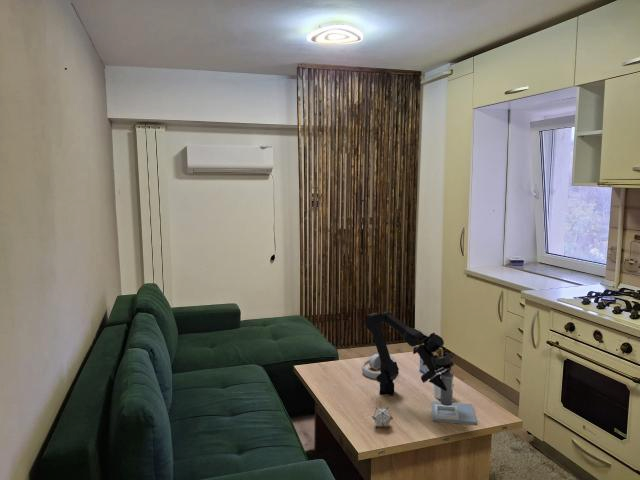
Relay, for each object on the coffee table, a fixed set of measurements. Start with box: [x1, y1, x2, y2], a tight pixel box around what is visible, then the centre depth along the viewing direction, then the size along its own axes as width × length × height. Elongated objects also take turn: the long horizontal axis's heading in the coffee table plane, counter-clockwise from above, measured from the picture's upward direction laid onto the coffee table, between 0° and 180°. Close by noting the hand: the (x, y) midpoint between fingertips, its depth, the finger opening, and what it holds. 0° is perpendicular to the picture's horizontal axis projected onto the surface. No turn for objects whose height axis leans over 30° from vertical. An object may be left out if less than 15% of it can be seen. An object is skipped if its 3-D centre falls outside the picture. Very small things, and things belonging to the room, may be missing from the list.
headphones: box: [361, 353, 396, 380], centre depth 252 cm, size 18×8×20 cm
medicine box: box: [418, 356, 429, 375], centre depth 250 cm, size 8×4×9 cm, turn 25°
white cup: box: [433, 372, 441, 400], centre depth 223 cm, size 8×8×10 cm
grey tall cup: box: [439, 372, 454, 406], centre depth 203 cm, size 5×5×13 cm
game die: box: [371, 406, 394, 429], centre depth 197 cm, size 9×8×10 cm
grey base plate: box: [430, 400, 478, 425], centre depth 207 cm, size 18×16×3 cm
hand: (449, 388), depth 202 cm, fingers closed on grey tall cup, 5 cm apart
